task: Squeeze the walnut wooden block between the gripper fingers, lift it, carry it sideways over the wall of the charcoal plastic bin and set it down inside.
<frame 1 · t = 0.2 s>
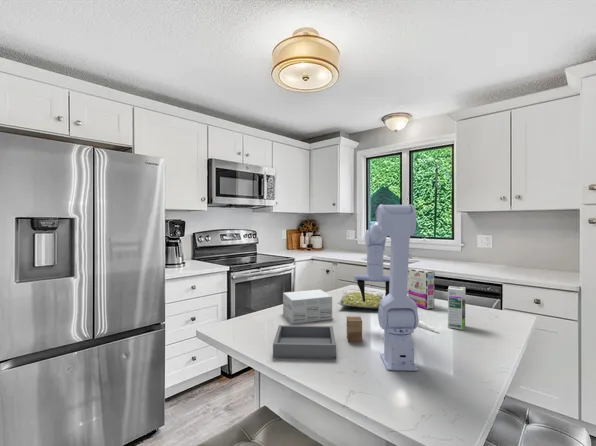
hand: (374, 301, 117), 10 cm above the table, tool pointing down, fingers open, 7 cm apart
syrup box: (456, 327, 120), on the table
unicorn horn: (411, 323, 125), on the table
walnut block: (354, 339, 108), on the table
frozen beans: (362, 305, 150), on the table
supplement box: (306, 317, 133), on the table
candy bar box: (421, 306, 147), on the table
charcoal bin: (305, 347, 102), on the table
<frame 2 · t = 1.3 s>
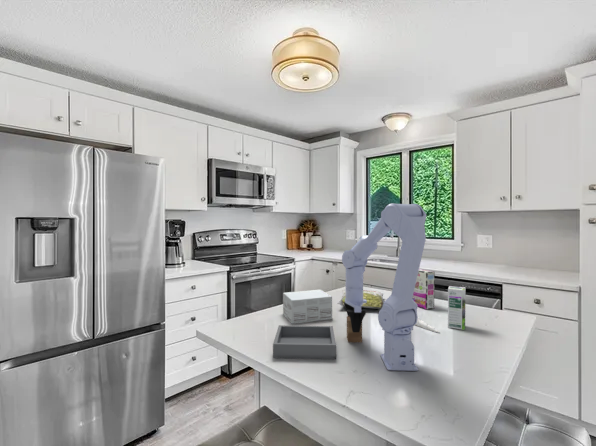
hand: (354, 327, 108), 4 cm above the table, tool pointing down, fingers open, 7 cm apart
nothing on the table moved.
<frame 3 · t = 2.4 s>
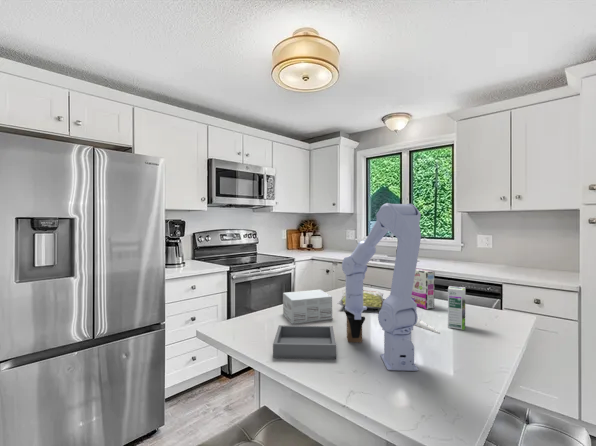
hand: (354, 334, 108), 2 cm above the table, tool pointing down, fingers closed on walnut block, 5 cm apart
walnut block: (354, 339, 108), on the table, touching gripper
everything else where it was.
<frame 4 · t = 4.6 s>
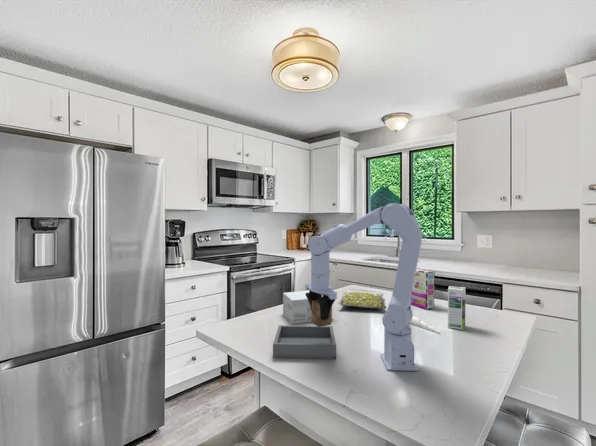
hand: (320, 317, 103), 9 cm above the table, tool pointing down, fingers closed on walnut block, 4 cm apart
walnut block: (320, 323, 103), point 7 cm above the table, touching gripper
everything else where it was.
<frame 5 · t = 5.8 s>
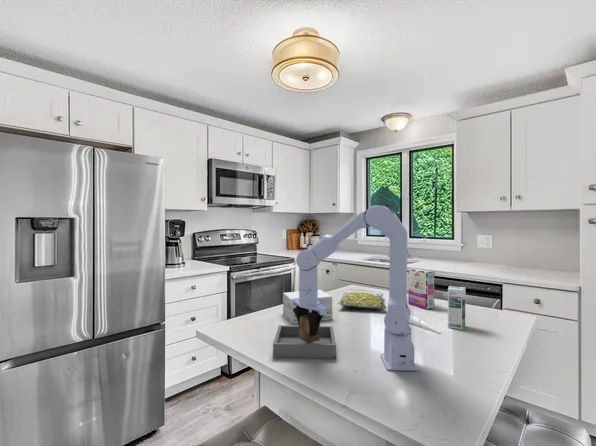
hand: (308, 332, 101), 5 cm above the table, tool pointing down, fingers closed on walnut block, 4 cm apart
walnut block: (309, 339, 102), point 2 cm above the table, touching gripper
everything else where it was.
when the fingers open (5 cm above the table, at t = 6.6 s): walnut block drops 2 cm, resting on charcoal bin.
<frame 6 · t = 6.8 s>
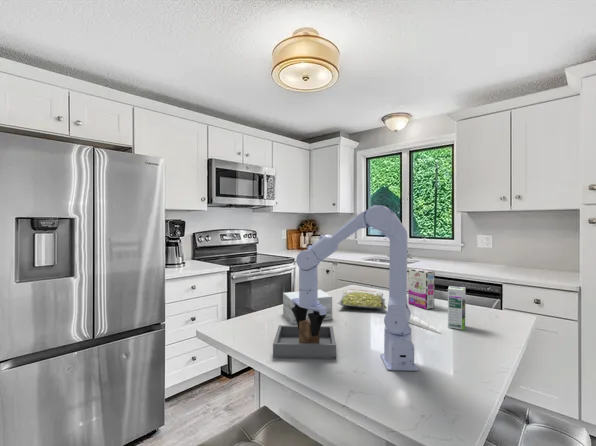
hand: (308, 332, 101), 5 cm above the table, tool pointing down, fingers open, 6 cm apart
walnut block: (309, 344, 102), point 1 cm above the table, touching charcoal bin
everything else where it was.
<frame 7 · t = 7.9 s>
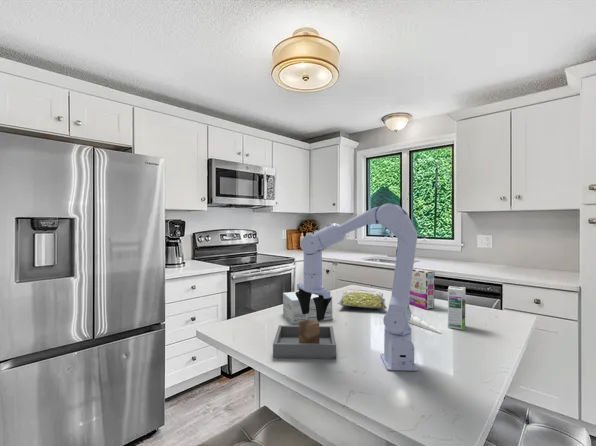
hand: (312, 316, 102), 9 cm above the table, tool pointing down, fingers open, 7 cm apart
nothing on the table moved.
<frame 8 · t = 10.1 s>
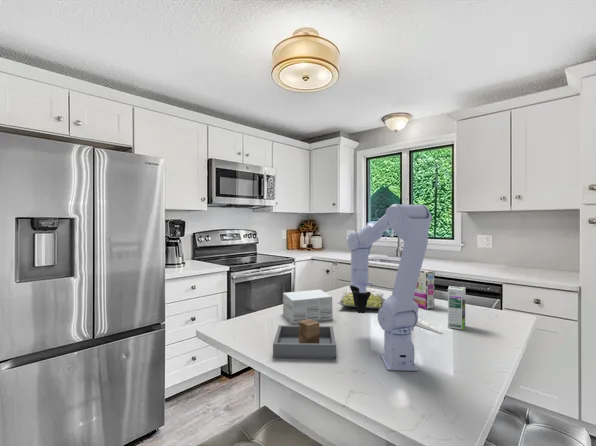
hand: (359, 309, 110), 9 cm above the table, tool pointing down, fingers open, 7 cm apart
nothing on the table moved.
at the end: walnut block inside the target area on the charcoal bin (1.3 cm from its centre), point 0.8 cm above the charcoal bin's base; the gripper is holding nothing; walnut block tilted 0° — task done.
